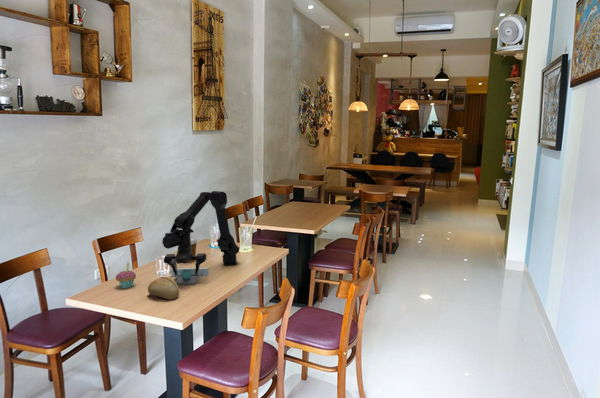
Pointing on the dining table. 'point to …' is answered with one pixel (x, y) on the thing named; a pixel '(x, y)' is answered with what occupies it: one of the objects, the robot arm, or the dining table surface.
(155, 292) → the bread roll
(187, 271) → the ball
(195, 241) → the disposable coffee cup
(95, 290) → the dining table surface
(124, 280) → the cupcake
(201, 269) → the wall
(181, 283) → the dish
